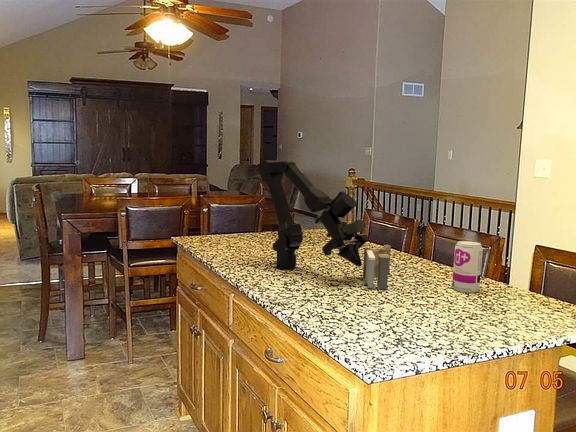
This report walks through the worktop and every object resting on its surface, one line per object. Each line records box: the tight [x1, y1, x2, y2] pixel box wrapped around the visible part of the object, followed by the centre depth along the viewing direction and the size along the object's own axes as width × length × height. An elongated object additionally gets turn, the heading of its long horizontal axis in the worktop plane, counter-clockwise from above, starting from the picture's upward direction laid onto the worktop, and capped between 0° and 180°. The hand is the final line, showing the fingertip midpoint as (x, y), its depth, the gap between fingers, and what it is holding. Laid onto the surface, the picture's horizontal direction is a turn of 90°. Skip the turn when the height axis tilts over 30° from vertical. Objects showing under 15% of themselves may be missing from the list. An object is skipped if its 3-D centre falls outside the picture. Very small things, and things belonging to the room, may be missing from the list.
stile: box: [376, 254, 391, 290], centre depth 166 cm, size 3×3×11 cm
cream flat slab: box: [364, 250, 375, 290], centre depth 170 cm, size 12×2×10 cm, turn 176°
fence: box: [362, 244, 392, 281], centre depth 182 cm, size 14×3×10 cm, turn 138°
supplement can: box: [451, 240, 484, 294], centre depth 168 cm, size 8×8×15 cm
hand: (360, 266), depth 169 cm, fingers closed
